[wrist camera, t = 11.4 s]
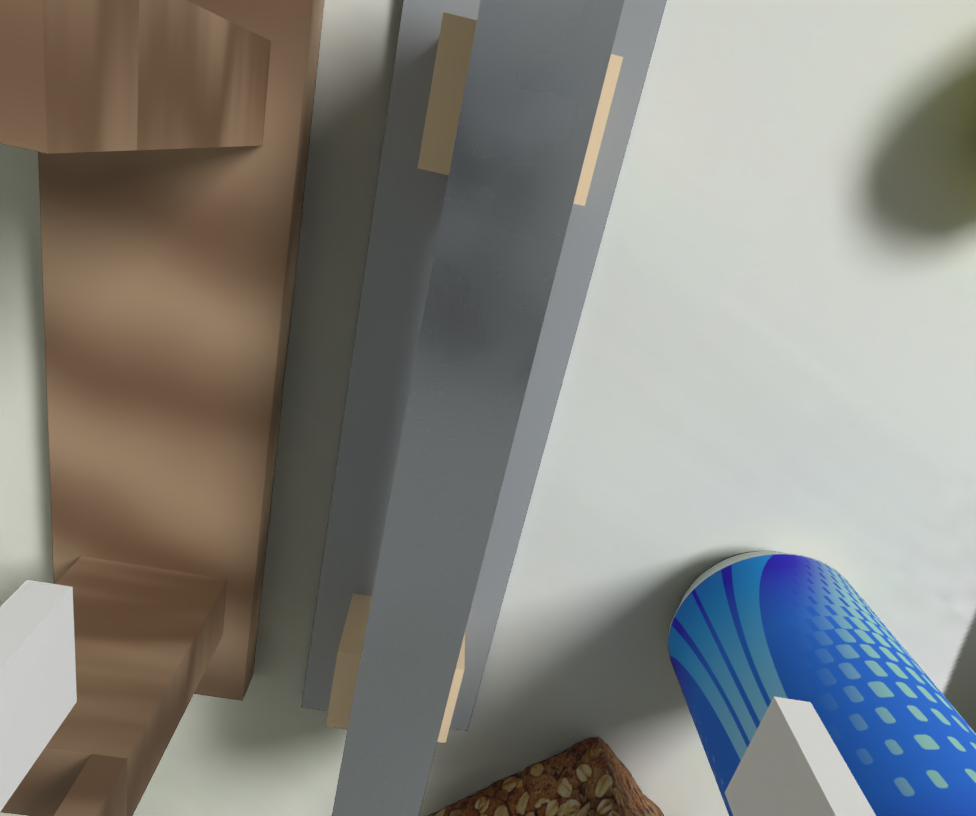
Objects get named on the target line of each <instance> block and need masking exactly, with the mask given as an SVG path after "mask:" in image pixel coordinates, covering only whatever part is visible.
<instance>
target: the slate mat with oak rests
mask: <svg viewBox="0 0 976 816" xmlns="http://www.w3.org/2000/svg"><path fill="white" fill-rule="evenodd" d="M480 1H481V0H404V1H403V8H402V15H401V22H400V29H399V36H398V43H397V50H396V57H395V64H394V71H393V77H392V84H391V91H390V98H389V105H388V112H387V119H386V126H385V133H384V140H383V147H382V153H381V160H380V167H379V174H378V181H377V188H376V195H375V202H374V209H373V216H372V223H371V229H370V236H369V243H368V250H367V257H366V264H365V271H364V278H363V285H362V292H361V298H360V305H359V312H358V319H357V326H356V333H355V340H354V347H353V354H352V361H351V368H350V374H349V381H348V388H347V395H346V402H345V409H344V416H343V423H342V430H341V437H340V444H339V450H338V457H337V464H336V471H335V478H334V485H333V492H332V499H331V506H330V513H329V520H328V526H327V533H326V540H325V547H324V554H323V561H322V568H321V575H320V582H319V589H318V596H317V602H316V609H315V616H314V623H313V630H312V637H311V644H310V651H309V658H308V665H307V672H306V678H305V685H304V692H303V699H302V706H301V707H303V708H310V709H317V710H324V711H328V714H327V720H326V726H327V727H334V728H341V729H348V725H349V719H350V714H351V708H352V703H353V697H354V692H355V686H356V681H357V675H358V670H359V664H360V659H361V653H362V648H363V642H364V637H365V632H366V626H367V621H368V615H369V610H370V604H371V599H372V593H373V588H374V582H375V577H376V571H377V566H378V560H379V555H380V549H381V544H382V538H383V533H384V527H385V522H386V516H387V511H388V505H389V500H390V494H391V489H392V483H393V478H394V472H395V467H396V461H397V456H398V451H399V445H400V440H401V434H402V429H403V423H404V418H405V412H406V407H407V401H408V396H409V390H410V385H411V379H412V374H413V368H414V363H415V357H416V352H417V346H418V341H419V335H420V330H421V324H422V319H423V313H424V308H425V302H426V297H427V291H428V286H429V281H430V275H431V270H432V264H433V259H434V253H435V248H436V242H437V237H438V231H439V226H440V220H441V215H442V209H443V204H444V198H445V193H446V187H447V182H448V176H449V171H450V165H451V160H452V154H453V149H454V143H455V138H456V132H457V127H458V121H459V116H460V110H461V105H462V100H463V94H464V89H465V83H466V78H467V72H468V67H469V61H470V56H471V50H472V45H473V39H474V34H475V28H476V23H477V17H478V12H479V6H480ZM666 1H667V0H625V1H624V5H623V9H622V12H621V16H620V20H619V24H618V28H617V32H616V36H615V40H614V44H613V48H612V52H611V56H610V60H609V64H608V68H607V72H606V76H605V80H604V84H603V88H602V92H601V96H600V100H599V104H598V107H597V111H596V115H595V119H594V123H593V127H592V131H591V135H590V139H589V143H588V147H587V151H586V155H585V159H584V163H583V167H582V171H581V175H580V179H579V183H578V187H577V191H576V195H575V198H574V202H573V206H572V210H571V214H570V218H569V222H568V226H567V230H566V234H565V238H564V242H563V246H562V250H561V254H560V258H559V262H558V266H557V270H556V274H555V278H554V282H553V286H552V290H551V293H550V297H549V301H548V305H547V309H546V313H545V317H544V321H543V325H542V329H541V333H540V337H539V341H538V345H537V349H536V353H535V357H534V361H533V365H532V369H531V373H530V377H529V381H528V384H527V388H526V392H525V396H524V400H523V404H522V408H521V412H520V416H519V420H518V424H517V428H516V432H515V436H514V440H513V444H512V448H511V452H510V456H509V460H508V464H507V468H506V472H505V476H504V479H503V483H502V487H501V491H500V495H499V499H498V503H497V507H496V511H495V515H494V519H493V523H492V527H491V531H490V535H489V539H488V543H487V547H486V551H485V555H484V559H483V563H482V567H481V570H480V574H479V578H478V582H477V586H476V590H475V594H474V598H473V602H472V606H471V610H470V614H469V618H468V622H467V626H466V630H465V634H464V638H463V642H462V646H461V650H460V654H459V658H458V662H457V665H456V669H455V673H454V677H453V681H452V685H451V689H450V693H449V697H448V701H447V705H446V709H445V713H444V717H443V721H442V725H441V729H440V733H439V737H438V741H437V742H442V743H446V739H447V735H448V731H449V728H451V729H458V730H465V731H467V729H468V726H469V722H470V718H471V715H472V711H473V708H474V704H475V700H476V697H477V693H478V689H479V686H480V682H481V678H482V675H483V671H484V667H485V664H486V660H487V656H488V653H489V649H490V645H491V642H492V638H493V634H494V631H495V627H496V623H497V620H498V616H499V612H500V609H501V605H502V601H503V598H504V594H505V590H506V587H507V583H508V579H509V576H510V572H511V568H512V565H513V561H514V558H515V554H516V550H517V547H518V543H519V539H520V536H521V532H522V528H523V525H524V521H525V517H526V514H527V510H528V506H529V503H530V499H531V495H532V492H533V488H534V484H535V481H536V477H537V473H538V470H539V466H540V462H541V459H542V455H543V451H544V448H545V444H546V440H547V437H548V433H549V429H550V426H551V422H552V418H553V415H554V411H555V407H556V404H557V400H558V397H559V393H560V389H561V386H562V382H563V378H564V375H565V371H566V367H567V364H568V360H569V356H570V353H571V349H572V345H573V342H574V338H575V334H576V331H577V327H578V323H579V320H580V316H581V312H582V309H583V305H584V301H585V298H586V294H587V290H588V287H589V283H590V279H591V276H592V272H593V268H594V265H595V261H596V257H597V254H598V250H599V247H600V243H601V239H602V236H603V232H604V228H605V225H606V221H607V217H608V214H609V210H610V206H611V203H612V199H613V195H614V192H615V188H616V184H617V181H618V177H619V173H620V170H621V166H622V162H623V159H624V155H625V151H626V148H627V144H628V140H629V137H630V133H631V129H632V126H633V122H634V118H635V115H636V111H637V107H638V104H639V100H640V96H641V93H642V89H643V86H644V82H645V78H646V75H647V71H648V67H649V64H650V60H651V56H652V53H653V49H654V45H655V42H656V38H657V34H658V31H659V27H660V23H661V20H662V16H663V12H664V9H665V5H666Z"/></svg>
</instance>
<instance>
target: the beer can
mask: <svg viewBox="0 0 976 816" xmlns="http://www.w3.org/2000/svg"><path fill="white" fill-rule="evenodd" d="M668 648H669V655H670V659H671V662H672V665H673V668H674V670H675V673H676V676H677V678H678V681H679V684H680V686H681V689H682V692H683V694H684V697H685V700H686V702H687V705H688V707H689V710H690V713H691V715H692V718H693V721H694V723H695V726H696V729H697V731H698V734H699V737H700V739H701V742H702V745H703V747H704V750H705V753H706V755H707V758H708V760H709V763H710V766H711V768H712V771H713V774H714V776H715V779H716V782H717V784H718V787H719V790H720V792H721V795H722V798H723V800H724V803H725V806H726V808H727V811H728V814H729V816H733V814H732V811H731V809H730V806H729V803H728V800H727V798H726V795H725V791H726V789H727V787H728V785H729V783H730V781H731V779H732V777H733V775H734V773H735V771H736V769H737V767H738V765H739V763H740V762H741V760H742V758H743V756H744V754H745V752H746V750H747V748H748V746H749V744H750V742H751V740H752V738H753V736H754V734H755V732H756V730H757V728H758V726H759V725H760V723H761V721H762V719H763V717H764V715H765V713H766V711H767V709H768V707H769V705H770V703H771V701H772V699H773V697H781V698H787V699H793V700H800V701H806V702H811V704H812V705H813V707H814V709H815V711H816V712H817V714H818V716H819V718H820V719H821V721H822V723H823V725H824V726H825V728H826V730H827V731H828V733H829V735H830V737H831V738H832V740H833V742H834V744H835V745H836V747H837V749H838V751H839V752H840V754H841V756H842V757H843V759H844V761H845V763H846V764H847V766H848V768H849V770H850V771H851V773H852V775H853V777H854V778H855V780H856V782H857V784H858V785H859V787H860V789H861V790H862V792H863V794H864V796H865V797H866V799H867V801H868V803H869V804H870V806H871V808H872V810H873V811H874V813H875V815H876V816H976V733H975V732H974V731H973V730H972V729H971V727H970V726H969V725H968V724H967V723H966V721H965V720H964V719H963V718H962V717H961V716H960V714H959V713H958V712H957V711H956V710H955V708H954V707H953V706H952V705H951V704H950V702H949V701H948V700H947V699H946V698H945V696H944V695H943V694H942V693H941V692H940V691H939V689H938V688H937V687H936V686H935V685H934V683H933V682H932V681H931V680H930V679H929V677H928V676H927V675H926V674H925V673H924V672H923V670H922V669H921V668H920V667H919V666H918V664H917V663H916V662H915V661H914V660H913V659H912V657H911V656H910V655H909V654H908V653H907V651H906V650H905V649H904V648H903V647H902V645H901V644H900V643H899V642H898V641H897V640H896V638H895V637H894V636H893V635H892V634H891V632H890V631H889V630H888V629H887V628H886V626H885V625H884V624H883V623H882V622H881V621H880V619H879V618H878V617H877V616H876V615H875V613H874V612H873V611H872V610H871V609H870V607H869V606H868V605H867V604H866V603H865V602H864V600H863V599H862V598H861V597H860V596H859V594H858V593H857V592H856V591H855V590H854V588H853V587H852V586H851V585H850V584H849V583H848V581H847V580H846V579H845V578H844V577H843V576H842V575H841V574H840V573H838V572H837V571H836V570H835V569H833V568H832V567H830V566H828V565H827V564H825V563H823V562H821V561H819V560H816V559H813V558H810V557H806V556H802V555H796V554H787V553H781V552H773V551H757V552H749V553H743V554H740V555H736V556H733V557H730V558H728V559H725V560H723V561H721V562H719V563H717V564H715V565H714V566H712V567H711V568H709V569H708V570H706V571H705V572H704V573H703V574H701V575H700V576H699V577H698V578H697V579H696V580H695V581H694V582H693V583H692V585H691V586H690V587H689V589H688V590H687V592H686V593H685V595H684V597H683V599H682V601H681V603H680V605H679V607H678V609H677V611H676V613H675V615H674V617H673V620H672V622H671V626H670V630H669V637H668Z"/></svg>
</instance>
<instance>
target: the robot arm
mask: <svg viewBox="0 0 976 816" xmlns="http://www.w3.org/2000/svg"><path fill="white" fill-rule="evenodd" d="M76 702H77V693H76V666H75V639H74V612H73V587H70V586H64V585H58V584H51V583H45V582H38V581H32V580H26V581H25V582H24V583H23V584H22V585H21V586H20V587H19V588H18V589H17V590H16V591H15V592H14V593H13V594H12V595H11V596H10V597H9V598H8V599H7V600H6V601H5V602H4V603H3V604H2V605H1V606H0V812H1V810H2V809H3V807H4V806H5V804H6V803H7V802H8V800H9V799H10V797H11V796H12V794H13V793H14V791H15V790H16V789H17V787H18V786H19V784H20V783H21V781H22V780H23V779H24V777H25V776H26V774H27V773H28V771H29V770H30V768H31V767H32V766H33V764H34V763H35V761H36V760H37V758H38V757H39V755H40V754H41V753H42V751H43V750H44V748H45V747H46V745H47V744H48V743H49V741H50V740H51V738H52V737H53V735H54V734H55V732H56V731H57V730H58V728H59V727H60V725H61V724H62V722H63V721H64V719H65V718H66V717H67V715H68V714H69V712H70V711H71V709H72V708H73V706H74V705H75V704H76ZM725 795H726V798H727V800H728V803H729V806H730V809H731V811H732V814H733V816H876V815H875V813H874V811H873V810H872V808H871V806H870V804H869V803H868V801H867V799H866V797H865V796H864V794H863V792H862V790H861V789H860V787H859V785H858V784H857V782H856V780H855V778H854V777H853V775H852V773H851V771H850V770H849V768H848V766H847V764H846V763H845V761H844V759H843V757H842V756H841V754H840V752H839V751H838V749H837V747H836V745H835V744H834V742H833V740H832V738H831V737H830V735H829V733H828V731H827V730H826V728H825V726H824V725H823V723H822V721H821V719H820V718H819V716H818V714H817V712H816V711H815V709H814V707H813V705H812V704H811V702H806V701H800V700H793V699H787V698H781V697H773V699H772V701H771V703H770V705H769V707H768V709H767V711H766V713H765V715H764V717H763V719H762V721H761V723H760V725H759V726H758V728H757V730H756V732H755V734H754V736H753V738H752V740H751V742H750V744H749V746H748V748H747V750H746V752H745V754H744V756H743V758H742V760H741V762H740V763H739V765H738V767H737V769H736V771H735V773H734V775H733V777H732V779H731V781H730V783H729V785H728V787H727V789H726V791H725Z"/></svg>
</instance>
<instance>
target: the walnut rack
mask: <svg viewBox="0 0 976 816" xmlns="http://www.w3.org/2000/svg"><path fill="white" fill-rule="evenodd" d="M323 8H324V0H0V144H5V145H10V146H14V147H19V148H24V149H28V150H33V151H37V152H38V161H39V188H40V216H41V243H42V270H43V298H44V325H45V352H46V380H47V407H48V434H49V462H50V489H51V517H52V544H53V571H54V584H58V585H64V586H70V587H73V612H74V639H75V666H76V693H77V702H76V704H75V705H74V706H73V708H72V709H71V711H70V712H69V714H68V715H67V717H66V718H65V719H64V721H63V722H62V724H61V725H60V727H59V728H58V730H57V731H56V732H55V734H54V735H53V737H52V738H51V740H50V741H49V743H48V744H47V745H46V747H45V748H44V750H43V751H42V753H41V754H40V755H39V757H38V758H37V760H36V761H35V763H34V764H33V766H32V767H31V768H30V770H29V771H28V773H27V774H26V776H25V777H24V779H23V780H22V781H21V783H20V784H19V786H18V787H17V789H16V790H15V791H14V793H13V794H12V796H11V797H10V799H9V800H8V802H7V803H6V804H5V806H4V807H3V809H2V810H1V812H3V813H11V814H19V815H28V816H132V815H133V813H134V811H135V809H136V807H137V805H138V803H139V801H140V799H141V797H142V795H143V793H144V792H145V790H146V788H147V786H148V784H149V782H150V780H151V778H152V776H153V774H154V772H155V770H156V768H157V766H158V764H159V762H160V760H161V758H162V756H163V754H164V752H165V750H166V748H167V746H168V744H169V742H170V740H171V738H172V736H173V734H174V732H175V730H176V728H177V726H178V724H179V722H180V720H181V718H182V716H183V714H184V712H185V710H186V708H187V706H188V704H189V702H190V700H191V698H192V696H193V694H200V695H207V696H214V697H221V698H228V699H235V700H242V701H243V698H244V696H245V693H246V691H247V688H248V686H249V684H250V681H251V679H252V676H253V669H254V659H255V650H256V640H257V631H258V622H259V612H260V603H261V593H262V584H263V574H264V565H265V556H266V546H267V537H268V527H269V518H270V508H271V499H272V490H273V480H274V471H275V461H276V452H277V442H278V433H279V423H280V414H281V405H282V395H283V386H284V376H285V367H286V357H287V348H288V339H289V329H290V320H291V310H292V301H293V291H294V282H295V273H296V263H297V254H298V244H299V235H300V225H301V216H302V206H303V197H304V188H305V178H306V169H307V159H308V150H309V140H310V131H311V122H312V112H313V103H314V93H315V84H316V74H317V65H318V56H319V46H320V37H321V27H322V18H323Z"/></svg>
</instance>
